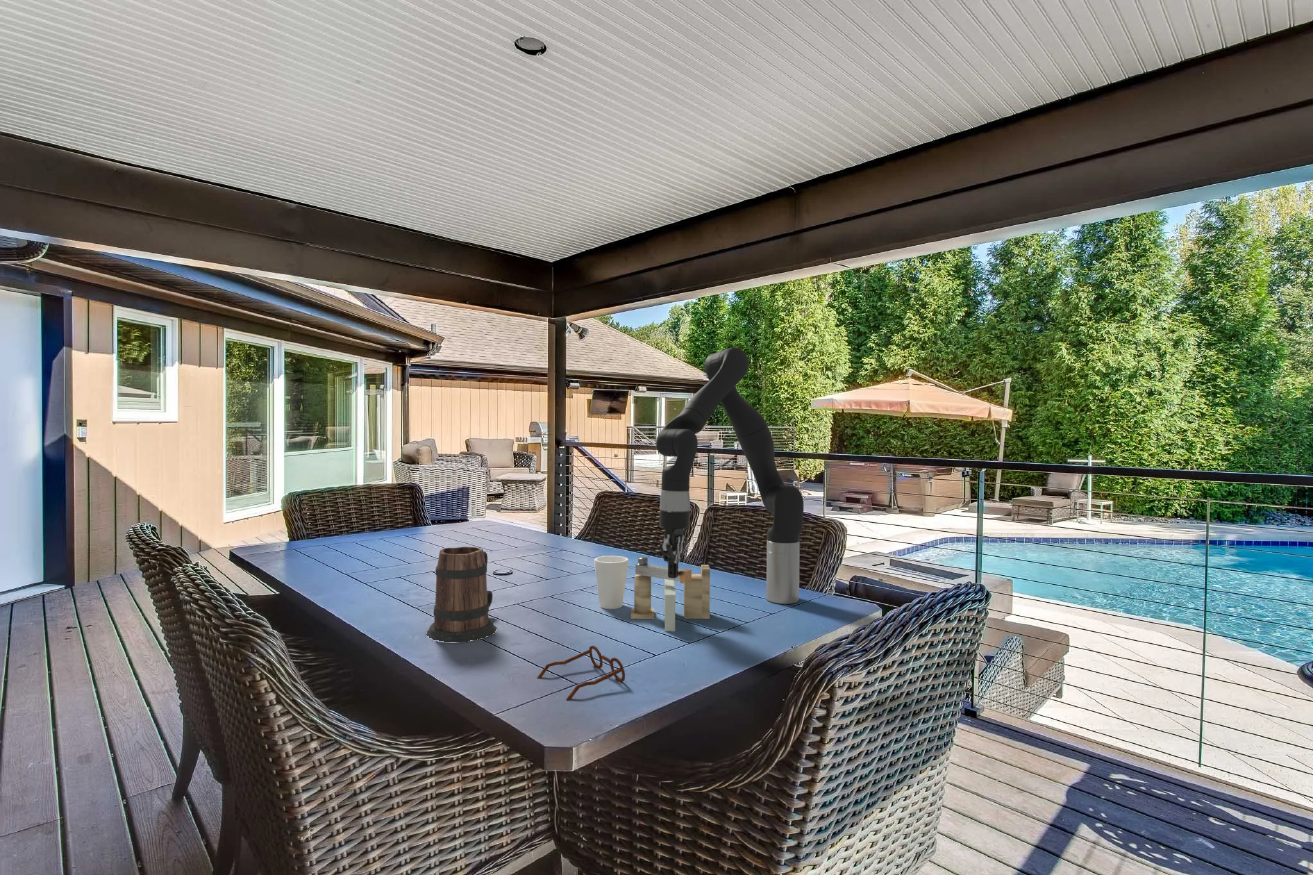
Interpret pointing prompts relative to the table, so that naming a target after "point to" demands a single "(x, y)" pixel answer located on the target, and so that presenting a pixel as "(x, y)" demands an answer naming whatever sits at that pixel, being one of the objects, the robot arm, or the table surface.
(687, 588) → the keeper
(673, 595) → the door edge
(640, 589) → the post
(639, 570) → the bar
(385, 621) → the table surface
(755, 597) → the table surface
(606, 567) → the foam cup
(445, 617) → the tankard
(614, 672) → the glasses
